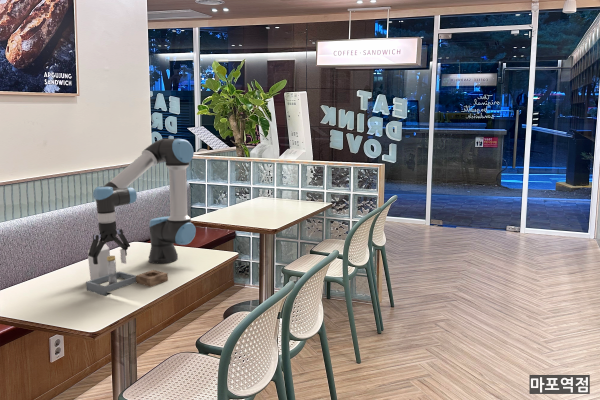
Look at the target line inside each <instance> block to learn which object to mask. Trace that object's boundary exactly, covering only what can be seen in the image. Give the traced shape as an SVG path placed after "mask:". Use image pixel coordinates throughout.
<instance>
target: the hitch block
mask: <svg viewBox="0 0 600 400" xmlns="http://www.w3.org/2000/svg"><path fill="white" fill-rule="evenodd" d="M135 275H136V274H135ZM168 276H169V275H168V272H164V271H160V270H155V269H152V270H148V271H146V272H143V273H140V274H137V275H136V282H135V283H136V284H138V285H143V286H147V287H151V288H152V287H154V286H156V285H160V284H163V283H165V282H168V281H169V277H168Z"/></svg>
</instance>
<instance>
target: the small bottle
mask: <svg viewBox="0 0 600 400" xmlns="http://www.w3.org/2000/svg"><path fill="white" fill-rule="evenodd" d="M116 262H117V261H116V256H115V255H110V256H108V257H107V267H108V279H109V281H108V285H110V284H113V283H116V282H118V278H117V274H116V272H117V264H116Z"/></svg>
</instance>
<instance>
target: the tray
mask: <svg viewBox="0 0 600 400" xmlns="http://www.w3.org/2000/svg"><path fill="white" fill-rule="evenodd" d="M116 274H117V279H119V278H121V279H123V280H120V281H117V282H116V283H113V284H110V285H109V284H107V285H101V284H102V283H103V284H104V283H107V282H109V279H108V275H106V276H103V277H100V278H97V279H94V280H87V281H85V285H86V286H85V287H86V291H88V292H91V293H94V294H98V295H101V296H104V297H107V296H110V295H112V293H111V292H112V291H114V290H117V289H120V288H124V287H127V286H129V285H132V284H135V283H137V282H136V274H132V273H128V272H124V271H120V270H119V271H116Z"/></svg>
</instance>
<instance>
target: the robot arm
mask: <svg viewBox="0 0 600 400" xmlns="http://www.w3.org/2000/svg"><path fill="white" fill-rule="evenodd" d="M194 154H195V153H194V148H193V146H192V144H191V143H190V141H188V140H187V139H182V138H162V139H158V140H156V141H154V142H153V143H151V144H150V145H148V146H147V147H146V148H145V149H144V150H142V151H141V154H140V156H138V157H137V158H136V159H135V160H134V161H132V162H131V163H130V164H129V165H127V166H126V167H125V168H124V169H123V170H121V171H120V172H119V173H118V174H116V176H114V177H113V178H112V179H111V180H110V181H108V182H107V183H106V184H104V185H100V186H99V185H98V186H97V187H95V189H94V190H93V192H92V193H93V194H92V196H93V199H94V200H95V203H96V213H97V221H98V231H99V234H93V235H92V242H91V243H92V245H91V244H90V246H91V248H90V251H89V254H88V253H87V257H88V256H90V257H93V263H94V264H95V269H96V271H101V269H100V259H99V257H98V255H99V253H100V251H101V249H102V248H103V246H104V244H106V245H107V243H110V242H114V243H116V244H117V245H118V247H119V248H121V249H119V251H120V252H119V253H120V262H121V264H123V265H124V264H127V257H126V256H127V255H128V252H127V250H128V249H129V248H130V247H131V244H130V243H129V241H128V239H127V238H126V236H125V235H124V231H123V229H122V228H117V221H116V207H119V206H125V205H131V204H133V203H135V202H136V201H137V198H138V194H137V191H136V189H135V188H134V187H130V185H131V184H132V183H134V182H135V181H136V180H137V179H138V178H140V177H141V176H142V175H144V174H145V172H146V171H148V170H149V169H150V168H151V167H156V166H157V165H158V164H160V163H162V162H165V167H166V168H167V169H168V174H169V175H168V177H169V178H168V179H169V181H168V182H169V207H170V210H169V212H170V215H169V216H168V215H167V216H160V217H155V218H152V219H150V220H149V226H148V228H149V235H150V237H149V238H150V251H149V256H148V262H149V263H150V264H155V265H158V264H160V265H161V264H170V263H173V262H175V261H177V260H178V259H179V257H178V253H177V250H176V247H175V245H180V246H183V245H184V246H187V245H189V244H190V243H191V242H192V241H193V240H194V238H195V236H196V232H197V229H196V226H195V224H194V223H192V222H191V220H192V218H191V216H189V215H188V190H187V189H188V187H187V186H188V185H187V168H189V166H190V162H191V161H192V159H193V158H194ZM117 236H118V237H119V238H118V237H117ZM98 241H99V244H98ZM97 244H98V245H97ZM174 244H175V245H174Z"/></svg>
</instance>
